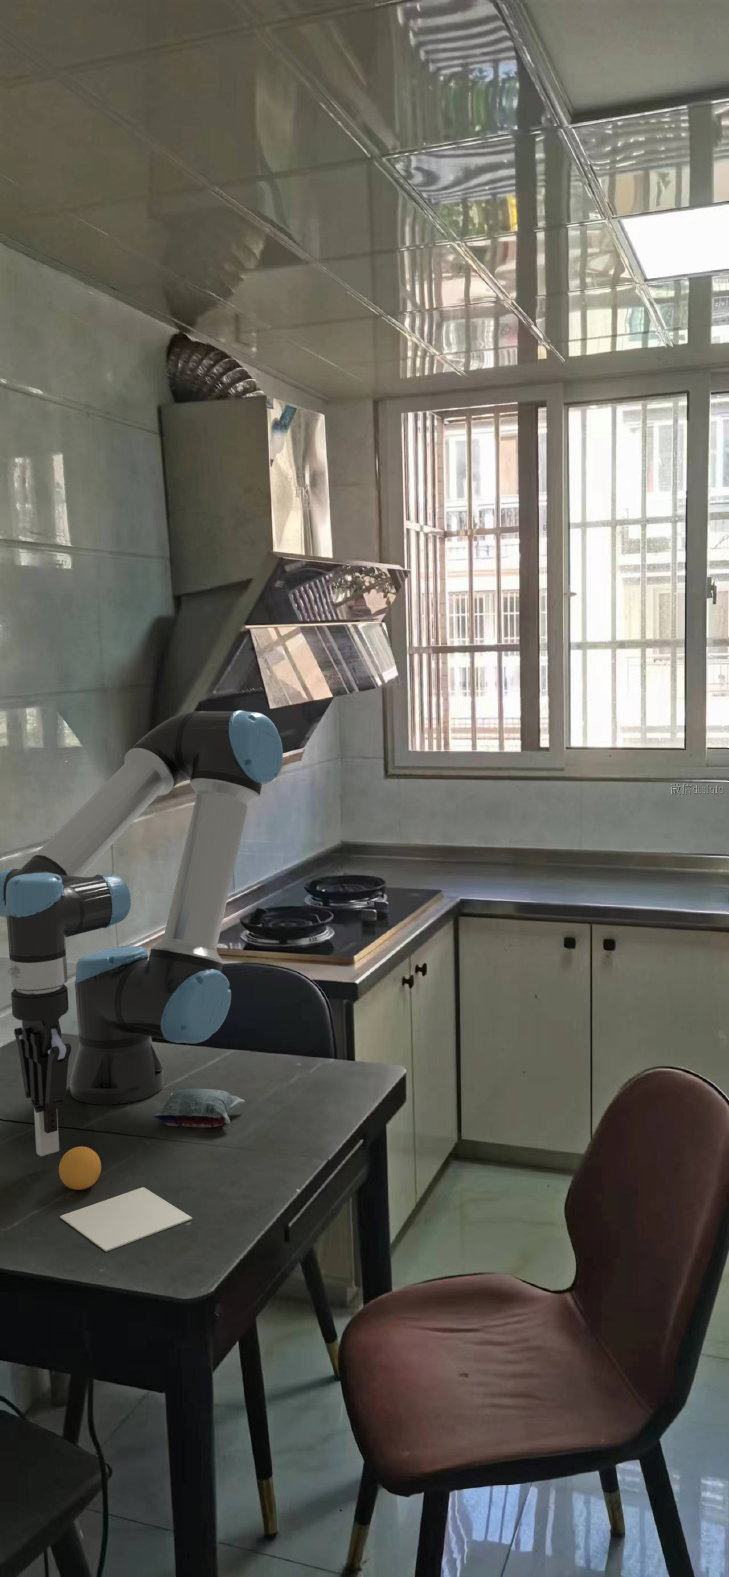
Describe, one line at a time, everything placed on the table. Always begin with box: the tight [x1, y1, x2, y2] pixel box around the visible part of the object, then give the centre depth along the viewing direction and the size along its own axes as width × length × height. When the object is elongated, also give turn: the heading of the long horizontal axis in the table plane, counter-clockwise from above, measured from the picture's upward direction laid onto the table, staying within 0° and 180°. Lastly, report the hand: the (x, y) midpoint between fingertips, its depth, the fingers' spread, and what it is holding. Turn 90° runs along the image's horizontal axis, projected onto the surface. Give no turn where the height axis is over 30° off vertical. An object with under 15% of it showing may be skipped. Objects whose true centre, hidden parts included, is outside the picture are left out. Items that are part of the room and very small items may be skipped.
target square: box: [59, 1186, 193, 1253], centre depth 149 cm, size 12×12×1 cm
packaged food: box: [153, 1087, 246, 1128], centre depth 180 cm, size 9×12×5 cm
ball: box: [58, 1146, 102, 1191], centre depth 158 cm, size 6×6×6 cm
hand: (47, 1151), depth 165 cm, fingers closed
